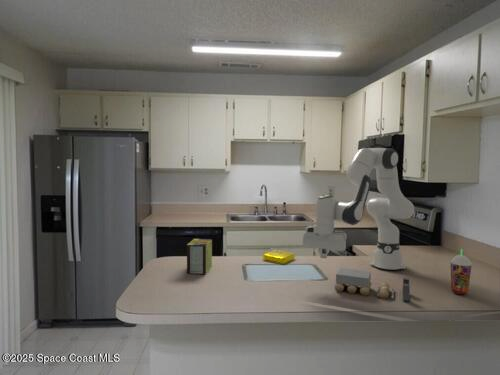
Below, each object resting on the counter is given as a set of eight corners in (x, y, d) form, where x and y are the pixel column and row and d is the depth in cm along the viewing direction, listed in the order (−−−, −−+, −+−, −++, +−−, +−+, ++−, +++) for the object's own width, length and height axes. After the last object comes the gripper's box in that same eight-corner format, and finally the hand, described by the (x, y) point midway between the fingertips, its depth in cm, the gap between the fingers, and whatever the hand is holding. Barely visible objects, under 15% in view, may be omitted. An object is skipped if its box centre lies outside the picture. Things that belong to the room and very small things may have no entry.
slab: (340, 275, 172) (340, 267, 171) (370, 279, 166) (370, 271, 166) (335, 282, 161) (336, 274, 160) (368, 287, 155) (368, 278, 155)
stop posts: (402, 292, 160) (403, 277, 160) (408, 293, 159) (409, 278, 159) (402, 301, 150) (403, 285, 150) (409, 302, 149) (409, 286, 149)
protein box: (212, 266, 199) (212, 239, 198) (206, 274, 183) (206, 245, 182) (193, 265, 200) (193, 238, 199) (186, 273, 184) (186, 244, 183)
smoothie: (459, 296, 157) (462, 251, 156) (444, 289, 165) (446, 247, 164) (474, 294, 159) (477, 250, 158) (459, 288, 167) (461, 246, 166)
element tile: (261, 261, 212) (261, 253, 212) (274, 256, 224) (274, 248, 224) (283, 265, 203) (283, 257, 203) (295, 260, 216) (295, 252, 215)
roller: (382, 291, 164) (379, 283, 164) (390, 289, 163) (388, 281, 163) (380, 299, 153) (378, 291, 153) (389, 298, 152) (387, 290, 152)
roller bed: (339, 283, 172) (339, 275, 172) (394, 291, 162) (394, 283, 162) (334, 291, 161) (334, 283, 161) (393, 300, 151) (393, 291, 151)
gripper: (347, 230, 166) (346, 259, 167) (305, 226, 174) (304, 254, 175) (345, 232, 160) (344, 262, 161) (301, 228, 168) (301, 256, 169)
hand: (323, 258), depth 168 cm, fingers closed
